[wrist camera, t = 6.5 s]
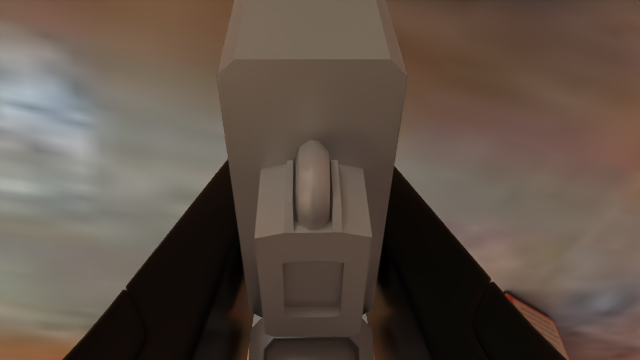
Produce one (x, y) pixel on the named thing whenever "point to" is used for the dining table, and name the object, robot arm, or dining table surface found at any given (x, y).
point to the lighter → (311, 166)
